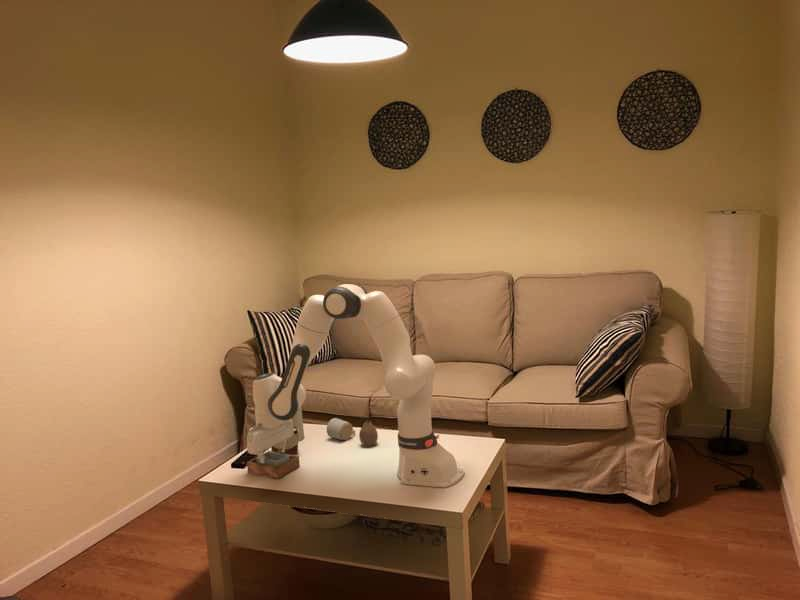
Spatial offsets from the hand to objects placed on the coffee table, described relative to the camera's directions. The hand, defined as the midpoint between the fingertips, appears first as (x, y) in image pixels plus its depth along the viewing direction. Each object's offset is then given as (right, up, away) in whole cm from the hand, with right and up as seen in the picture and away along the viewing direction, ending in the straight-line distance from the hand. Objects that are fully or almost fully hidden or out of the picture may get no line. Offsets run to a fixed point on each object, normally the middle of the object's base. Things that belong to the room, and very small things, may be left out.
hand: (272, 457), depth 241 cm
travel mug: (+3, 0, +31) cm, 31 cm away
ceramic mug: (+22, +1, +29) cm, 36 cm away
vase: (+33, 0, +19) cm, 38 cm away
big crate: (0, -5, +1) cm, 5 cm away
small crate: (0, -4, +1) cm, 4 cm away
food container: (+2, -2, +17) cm, 17 cm away
